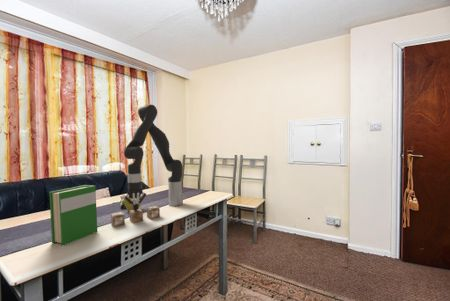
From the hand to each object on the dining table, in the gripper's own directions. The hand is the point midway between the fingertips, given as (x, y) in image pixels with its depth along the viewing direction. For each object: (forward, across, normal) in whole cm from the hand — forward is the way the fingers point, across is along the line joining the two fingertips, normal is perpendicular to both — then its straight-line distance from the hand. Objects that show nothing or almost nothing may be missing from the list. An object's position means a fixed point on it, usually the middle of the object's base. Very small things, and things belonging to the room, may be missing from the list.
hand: (135, 210), depth 134 cm
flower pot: (+6, -4, -24) cm, 25 cm away
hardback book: (+7, +30, +6) cm, 31 cm away
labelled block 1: (+6, +10, 0) cm, 12 cm away
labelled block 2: (+6, -10, 0) cm, 12 cm away
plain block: (+6, 0, 0) cm, 6 cm away
